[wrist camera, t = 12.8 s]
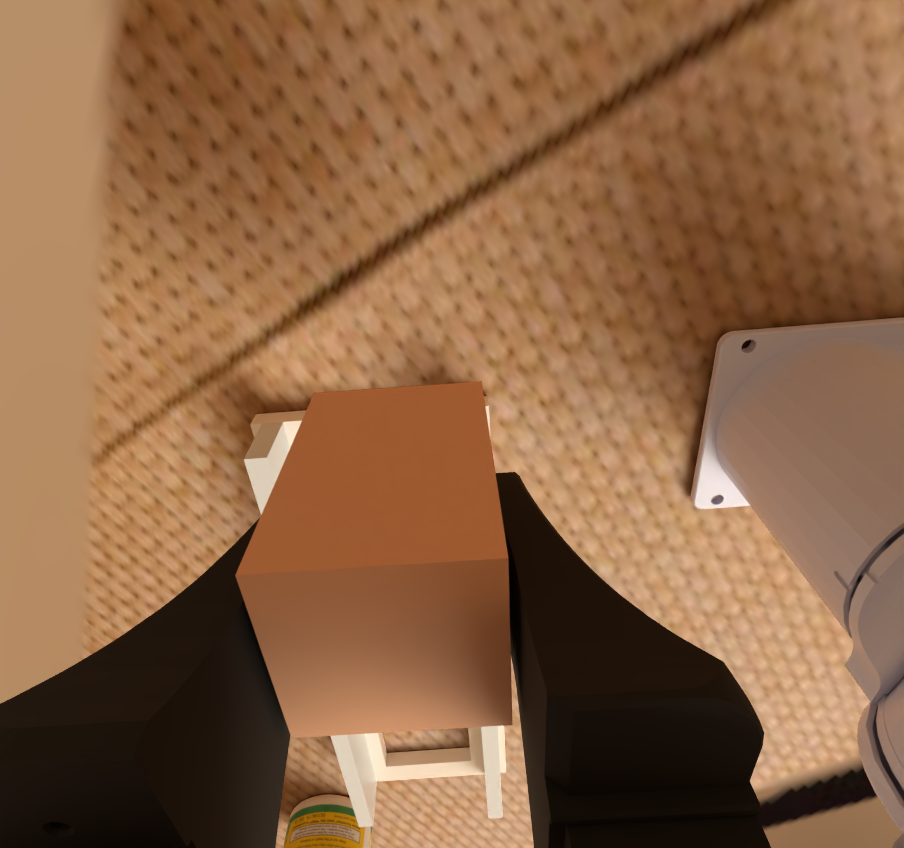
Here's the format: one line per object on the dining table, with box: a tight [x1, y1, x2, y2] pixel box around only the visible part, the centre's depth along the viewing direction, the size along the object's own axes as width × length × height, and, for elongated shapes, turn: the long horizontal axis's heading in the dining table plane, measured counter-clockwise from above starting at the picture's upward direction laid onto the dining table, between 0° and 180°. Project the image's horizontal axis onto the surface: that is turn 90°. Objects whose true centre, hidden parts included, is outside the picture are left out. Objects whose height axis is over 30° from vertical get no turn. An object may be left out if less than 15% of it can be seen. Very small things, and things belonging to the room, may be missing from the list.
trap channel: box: [244, 396, 506, 827], centre depth 27 cm, size 9×25×3 cm, turn 4°
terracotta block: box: [235, 381, 512, 738], centre depth 12 cm, size 4×6×4 cm
